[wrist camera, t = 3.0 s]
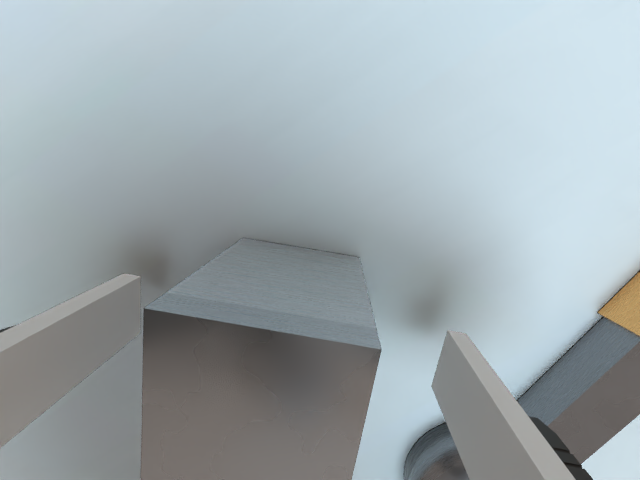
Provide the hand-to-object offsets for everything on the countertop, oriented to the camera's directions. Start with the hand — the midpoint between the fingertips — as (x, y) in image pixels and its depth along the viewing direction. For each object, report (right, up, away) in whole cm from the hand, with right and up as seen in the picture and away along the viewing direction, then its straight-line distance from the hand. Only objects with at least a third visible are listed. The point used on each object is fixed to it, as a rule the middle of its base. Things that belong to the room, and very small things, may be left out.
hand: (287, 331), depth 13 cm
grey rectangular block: (0, +1, +3) cm, 3 cm away
